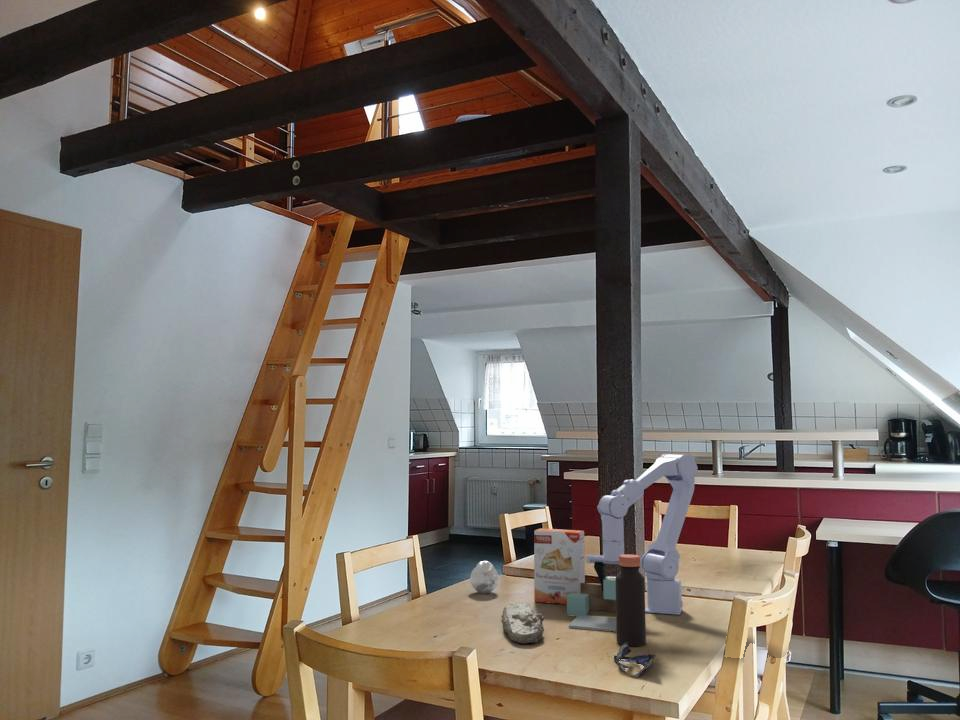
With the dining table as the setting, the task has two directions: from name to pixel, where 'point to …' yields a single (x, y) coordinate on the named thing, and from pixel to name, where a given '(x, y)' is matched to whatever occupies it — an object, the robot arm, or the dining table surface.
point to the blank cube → (577, 604)
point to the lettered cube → (609, 588)
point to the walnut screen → (597, 597)
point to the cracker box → (558, 564)
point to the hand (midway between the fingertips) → (614, 591)
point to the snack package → (633, 658)
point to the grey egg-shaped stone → (484, 577)
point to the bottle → (630, 602)
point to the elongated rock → (522, 623)
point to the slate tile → (594, 623)
